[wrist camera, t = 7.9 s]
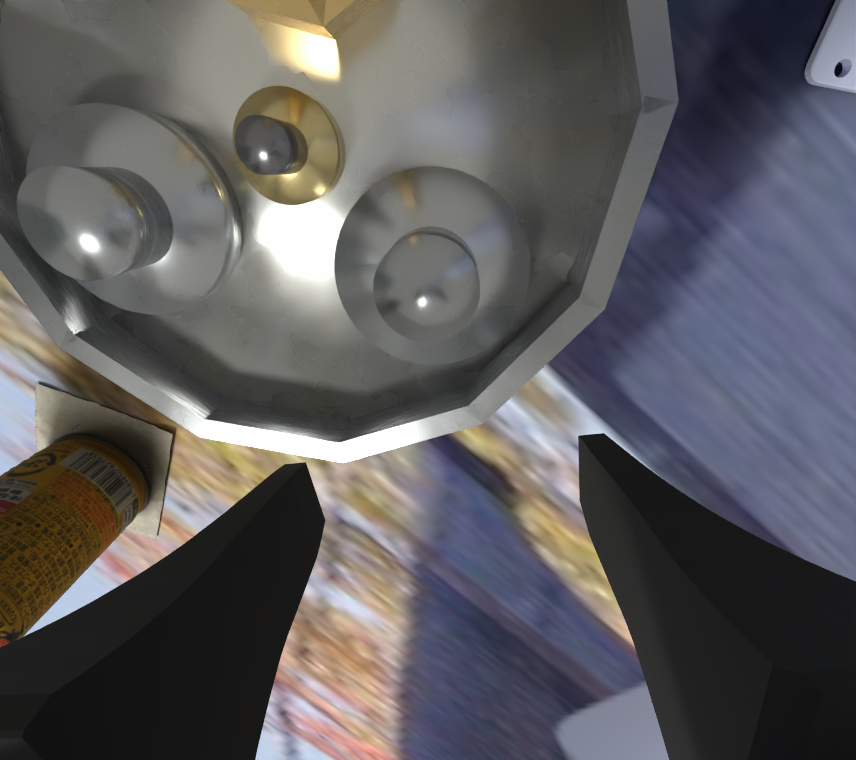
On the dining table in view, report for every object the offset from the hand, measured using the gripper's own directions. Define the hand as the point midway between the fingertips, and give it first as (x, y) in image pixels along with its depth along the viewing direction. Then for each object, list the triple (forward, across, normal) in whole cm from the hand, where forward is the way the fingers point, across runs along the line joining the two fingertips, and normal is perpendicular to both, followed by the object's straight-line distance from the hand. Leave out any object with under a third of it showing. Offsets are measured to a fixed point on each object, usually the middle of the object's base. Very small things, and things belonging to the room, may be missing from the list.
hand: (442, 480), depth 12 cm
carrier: (+10, +4, -9) cm, 14 cm away
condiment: (+10, +21, +5) cm, 23 cm away
